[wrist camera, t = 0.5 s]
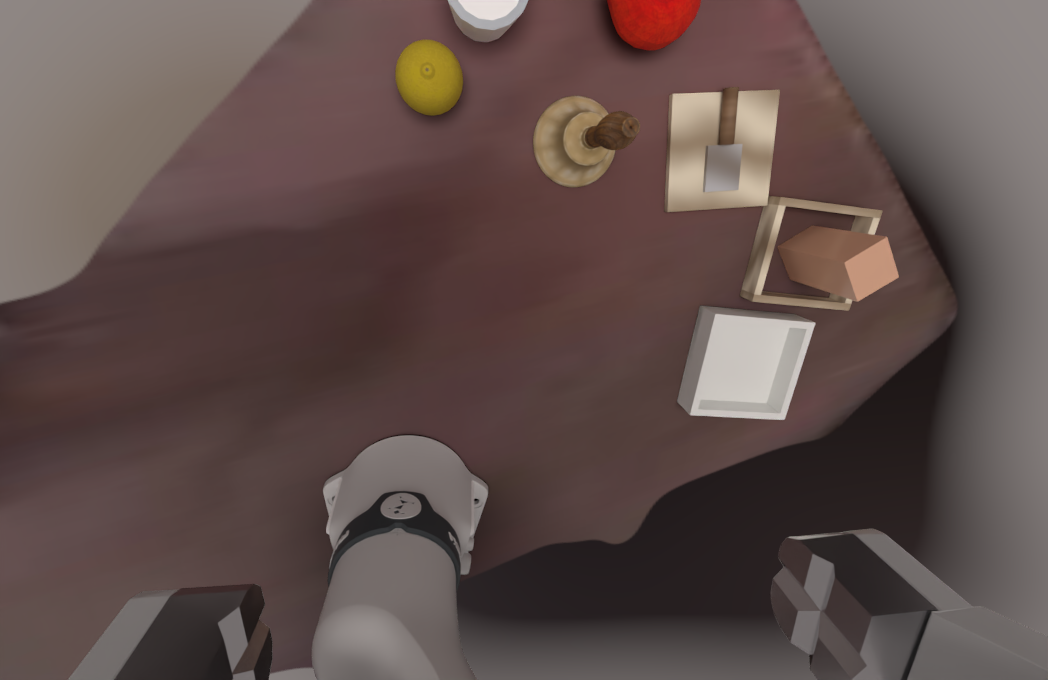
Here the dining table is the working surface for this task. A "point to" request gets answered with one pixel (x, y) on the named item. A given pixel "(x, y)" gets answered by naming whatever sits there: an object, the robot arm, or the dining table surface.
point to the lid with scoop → (720, 149)
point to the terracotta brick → (839, 261)
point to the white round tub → (486, 17)
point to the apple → (652, 20)
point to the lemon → (429, 77)
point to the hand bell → (580, 140)
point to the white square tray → (743, 363)
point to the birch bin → (766, 241)
